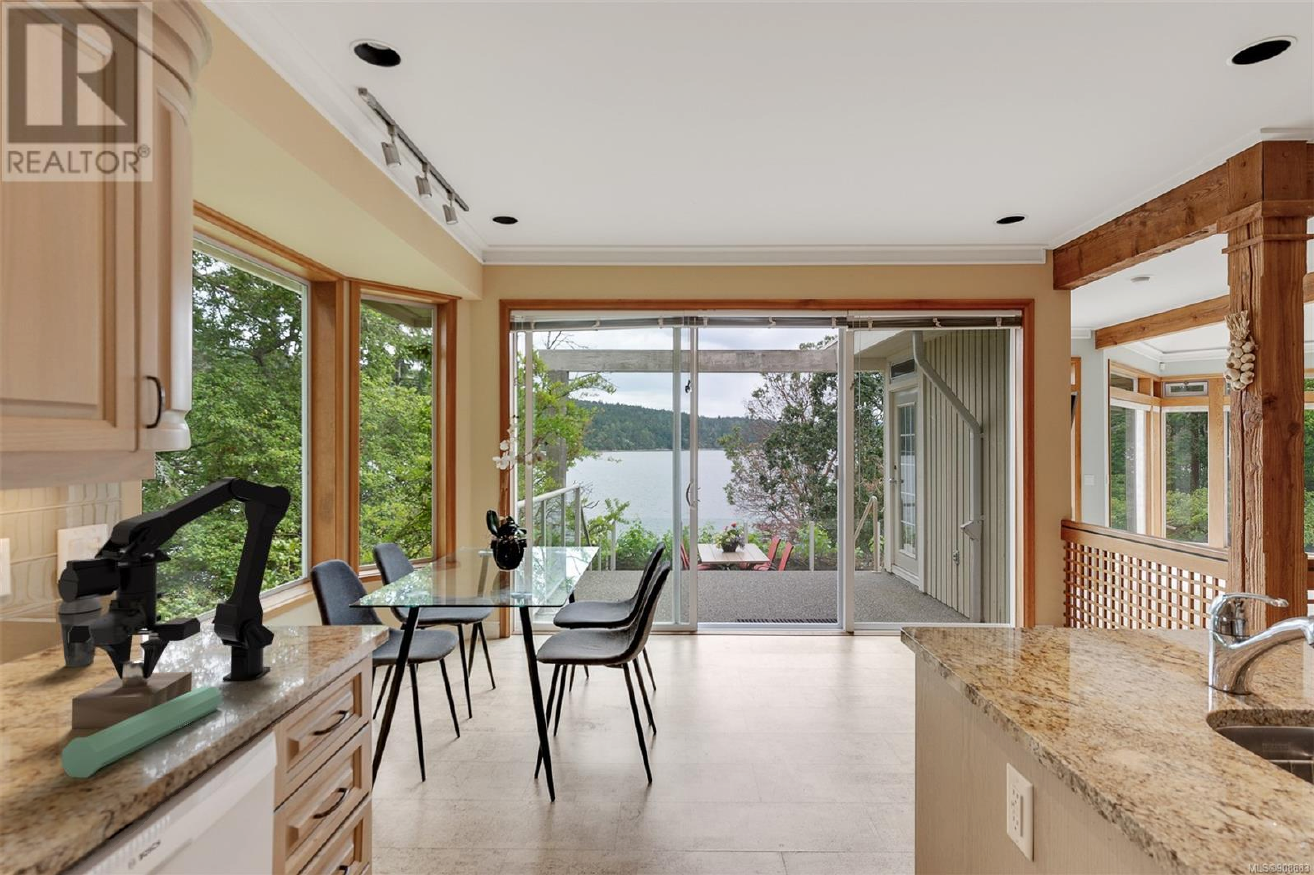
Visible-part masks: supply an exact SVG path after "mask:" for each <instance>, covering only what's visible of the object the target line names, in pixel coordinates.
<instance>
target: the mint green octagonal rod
mask: <svg viewBox="0 0 1314 875" xmlns="http://www.w3.org/2000/svg"><path fill="white" fill-rule="evenodd" d="M222 694H223V693H222V691H221V690H220V689H219V688H218V687H217V686H209V685H201V686H200V687H198V688H196V689H193V690H192V691H190V692H188V693H186V694H184V695H181V696H179V697H177V698H175V699H172V700H170V701H168V702H165V703H163V704H161V705H159V706H156V707H154V708H152V709H150V710H147V711H145V712H143V713H140V714H138V715H136V716H134V717H131V718H129V719H127V720H124V721H122V722H120V723H118V724H115V725H113V726H111V727H105V728H104V729H102V730H99V731H97V732H95V733H93V734H91V735H89V736H86V737H79V736H78V737H76V738H74V739H72V740H71V741H70V742H69V743H68V744H67V745H65V747H64V748H63V749H62V751H61V767H62V768H63V770H64V771H65V772H66V774H68V776H69V777H70V778H71V777H72V778H73V777H74V778H85V779H86V778H89V777H91V776H93V775H94V774H95V773H96V772H97V771H98V770H100V769H102V768H103V767H106V766H108V765H110V764H112V763H113V762H116V761H118V760H119V759H122V758H124V757H126V756H128V755H130V754H133V753H134V752H136V751H137V750H140V749H142V748H144V747H147V746H148V745H149V744H152V743H153V741H154V742H155V740H156V741H158V740H160V739H162V738H164V737H165V735H166V736H168V735H169V734H168V733H170V732H172V731H174V730H176V729H178V728H179V727H181V726H183V727H185V726H186V725H185V724H187V723H189V722H191V723H193V722H195V721H197V720H199V719H200V718H199V717H201V718H203V717H205V716H207V715H209V714H211V713H213V712H214V711H215V710H216V709H217V708H218V707H219V706H220V705H221V703H222V699H223V698H222V697H223V695H222ZM212 711H213V712H212ZM208 713H209V714H208ZM206 714H207V715H206ZM204 715H205V716H204ZM202 716H203V717H202ZM198 718H199V719H198ZM196 719H197V720H196ZM194 720H195V721H194ZM192 721H193V722H192ZM189 724H190V723H189ZM184 725H185V726H184ZM187 725H188V724H187ZM181 728H182V727H181ZM179 729H180V728H179ZM179 729H178V730H179ZM176 731H177V730H176ZM174 732H175V731H174ZM172 733H173V732H172ZM167 734H168V735H167ZM170 734H171V733H170ZM163 736H164V737H163ZM161 737H162V738H161ZM159 738H160V739H159ZM157 739H158V740H157Z"/></svg>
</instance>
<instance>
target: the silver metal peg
mask: <svg viewBox="0 0 1314 875" xmlns="http://www.w3.org/2000/svg"><path fill="white" fill-rule="evenodd" d="M147 683H148V678H147V679H145V678H144V657H141V658H140V657H139V658H132V659H130V660H128V661H125V662H123V677H122V687H124V688H132V687H139V686H142V685H144V684H147Z"/></svg>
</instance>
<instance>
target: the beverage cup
mask: <svg viewBox="0 0 1314 875" xmlns="http://www.w3.org/2000/svg"><path fill="white" fill-rule="evenodd" d="M102 610H103V605H102V601H101V599H100V597H98V598H92V599H87V600H81V601H76V602H70V603H66V602H65V601H63V600H62V602H61V603H60V606H59V608H58V611H57V615H58V619H59V623H60V626H61V636H62V647H63V655H64V656H63V657H64V661H65V662H64V663H65V667H66V668H71V667H72V668H81V667H84V666H88V665H92V664H93V663H95V662H94V659H95V654H96V649H97V647H94V646H93V643H92V639H90V640H89V641H88V642H86V643H68V632H69V631H70V629H71V628H72V627H73V626H74V625H77V624H80V623H83V622H86V621H88V620H91V619H98V618H99V617H100V616H102Z"/></svg>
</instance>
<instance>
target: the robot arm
mask: <svg viewBox="0 0 1314 875" xmlns="http://www.w3.org/2000/svg"><path fill="white" fill-rule="evenodd" d="M232 500H234V501H236V502H240V503H243V504H244V510H243V511H244V516H245V519H246V521H247V529H246V530H247V531H246V534H245V538H244V541H243V542H244V543H243V547H242V550H241V553H240V554H241V555H240V559H239V563H238V567H237V573H236V576H235V579H234V584H233V587H232V588H233V589H232V592H231V595H230V597H229V598H228V599H227V600H226V601H225V602H224V603H222V602H218V603H217V604H216V607H215V615H214V617H213V620H212V621H211V624H213V632H214V633H215V635H216V636H217V637H218V638H220V640H221V643H222V645H223V646H225V647H226V646H228V647H230V672H229V673H228V674H226V675H224V676H223V677H222V680H223V681H239V680H240V681H244V680H245V681H246V680H249V681H250V680H257V679H258V678H261V676H263V675H264V674H266V673H267V672H268V671H270V670H271V666H264V649H265V648H266V647H268V646H271V645H272V644H273V641H274V638H275V633H274V632H272V630H270V629H269V628H267V627H266V626H265V625H264V624H263V622H264V610H263V607H262V606H263V605H262V602H261V599H260V595H261V594H260V593H261V589H262V586H263V581H264V577H265V573H266V568H267V564H268V559H269V556H270V551H271V548H272V547H271V546H272V543H273V538H274V534H275V530H276V528H277V526H278V525H279V524H280V523H281V522H282V520H283V519H284V518H286V515H287V512H288V510H289V508H290V504H291V502H292V494H291V493H290V492H289V490H288V488H286V487H285V486H283V485H274V484H272V485H271V484H262V483H258V482H254V481H249V480H247V479H244V478H242V477H239V476H238V477H237V476H236V477H235V476H223V477H221V478H219V479H218V480H217V481H215V482H214V483H212V484H210V485H207V486H206V487H204V488H202V489H200V490H198V491H195V492H194V493H191V494H190V495H188V496H186V497H184V498H182V499H181V500H178V501H176V502H174V503H172V504H170V505H168V506H166V507H164V508H162V509H158V510H156V511H151V512H150V511H149V512H146V513H143V514H139V515H136V516H133V517H129V518H125V519H124V520H121V521H119V522H117V523H116V524H115V525H114V526H113V527H112V531H111V533H110V536H109V538H108V540H107V541H106V542H105V543H104V544H103V546H102V547H101V548H100V549H99V550H98V552H97V553H96V554H95V555H94V557H93V558H87V559H72V560H66V562H65V563H66V564H65V566H66V567H65V568H64V569H63V570H62V572H61V573H60V577H59V579H58V580H57V590H58V593H59V596H60V598H61V599H62V602H63V601H65V602H66V603H70V602H76V601H81V600H87V599H92V598H98V597H99V598H102V597H108V596H112V595H113V593H114V592H115V598H112V599H110V603H109V605H108V606H109V608H108V610H107V612H105V613H103V614H101V615H100V617H99V618H98V619H91V620H88V621H86V622H83V623H80V624H77V625H74V626H73V627H72V628H71V629H70V631H69V632H68V643H86V642H88V641H89V640H90V639H92V643H93V646H94V647H96V648H99V649H101V650H103V651H104V652H106V654H107V655H108V657H109V658H110V660H111V662H112V664H113V666H114V669H115V671H116V672H117V676H119V677H120V679H122V677H123V662H125V661H128V660H131V652H132V645H133V644H132V643H133V636H143V635H144V636H146V635H147V637H148V638H147V639H148V640H145V641H144V642H141V643H139V645H140V647H141V648H142V650H143V651H144V652H143V658H144V678H145V679H147V678H149V677H150V676H151V674H152V673H154V671H155V669H156V666H157V664H158V662H159V661H160V658H161V657H162V654H163V652H164V651H165V650H166V648H167V647H168V645H169V643H170V642H180V641H185V640H186V639H189V638H191V637H192V636H195V635H197V634H199V633H201V621H200V620H199V618H197V617H196V616H195V617H193V616H192V617H191V616H190V617H175V618H173V619H171V620H170V619H169V620H168V621H165V622H164V623H158V622H161V621H162V614H158V613H157V612H158V610H157V608H158V603H157V602H158V599H161V598H162V596H163V595H162V591H158V564H160V563H167V562H171V560H172V558H171V557H170V556H169V555H168V554H166V553H164V552H163V551H162V549H160V548H161V547H162V546H163V545H165V544H166V543H168V542H169V541H170V540H172V538H173V537H174V536H175V534H176V533H177V532H178V531H179V530H180V529H182V528H183V527H184V526H186V525H188V524H190V523H191V522H194V521H195V520H197V519H199V518H200V517H203V516H204V515H206V514H208V513H210V512H212V511H214V510H215V509H217V508H219V507H221V506H223V505H226V504H227V503H228V502H230V501H232Z"/></svg>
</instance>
